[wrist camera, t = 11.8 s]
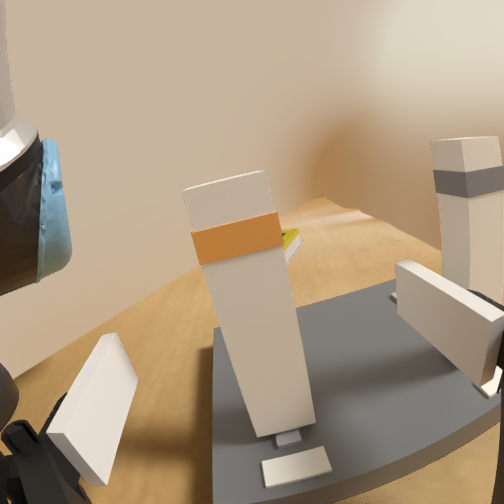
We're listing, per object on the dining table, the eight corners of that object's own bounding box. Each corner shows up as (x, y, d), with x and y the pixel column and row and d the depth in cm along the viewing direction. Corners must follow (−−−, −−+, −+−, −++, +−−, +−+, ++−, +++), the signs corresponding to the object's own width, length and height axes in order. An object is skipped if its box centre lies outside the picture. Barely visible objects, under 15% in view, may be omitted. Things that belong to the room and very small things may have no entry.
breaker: (496, 343, 14) (499, 136, 11) (461, 363, 14) (460, 139, 11) (472, 326, 17) (467, 137, 14) (438, 342, 17) (428, 141, 14)
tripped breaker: (317, 422, 14) (267, 170, 11) (256, 438, 14) (180, 191, 11) (305, 392, 16) (259, 170, 13) (251, 405, 16) (188, 187, 13)
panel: (544, 386, 12) (554, 357, 11) (225, 524, 11) (210, 505, 10) (416, 290, 29) (415, 269, 28) (219, 346, 28) (213, 325, 28)
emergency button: (300, 218, 55) (275, 245, 42) (305, 242, 57) (282, 276, 43) (252, 226, 59) (215, 252, 46) (257, 248, 60) (222, 280, 47)
